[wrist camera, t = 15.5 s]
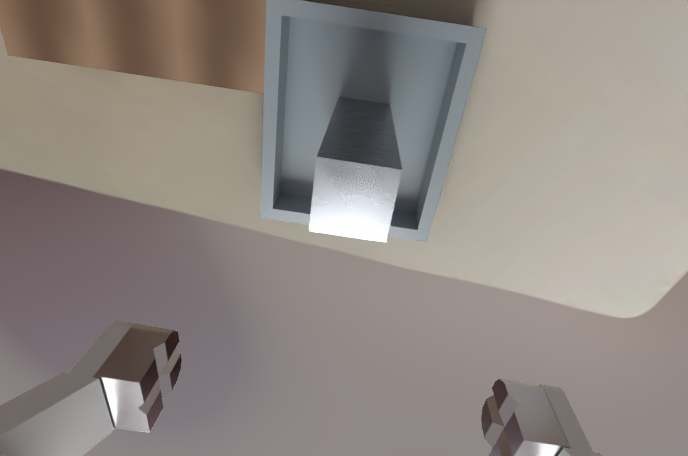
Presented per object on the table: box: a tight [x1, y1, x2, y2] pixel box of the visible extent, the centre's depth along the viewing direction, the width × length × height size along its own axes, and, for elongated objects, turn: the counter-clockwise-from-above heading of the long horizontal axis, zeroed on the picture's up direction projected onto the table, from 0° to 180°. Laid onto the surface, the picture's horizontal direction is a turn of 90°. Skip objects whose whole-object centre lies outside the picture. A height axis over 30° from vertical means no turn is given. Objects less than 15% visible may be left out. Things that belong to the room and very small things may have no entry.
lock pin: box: [309, 96, 402, 243], centre depth 25 cm, size 4×4×14 cm
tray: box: [260, 0, 487, 242], centre depth 30 cm, size 14×16×4 cm
